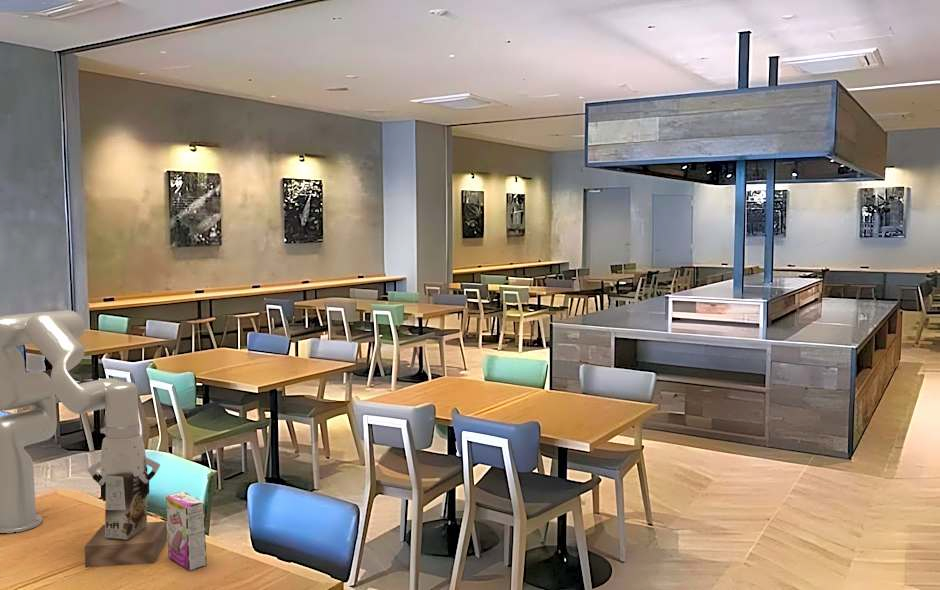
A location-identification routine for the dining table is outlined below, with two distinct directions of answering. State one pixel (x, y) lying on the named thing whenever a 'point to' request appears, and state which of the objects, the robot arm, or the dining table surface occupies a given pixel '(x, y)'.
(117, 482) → the coffee box
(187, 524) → the candy bar box
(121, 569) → the dining table surface
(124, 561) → the walnut box
